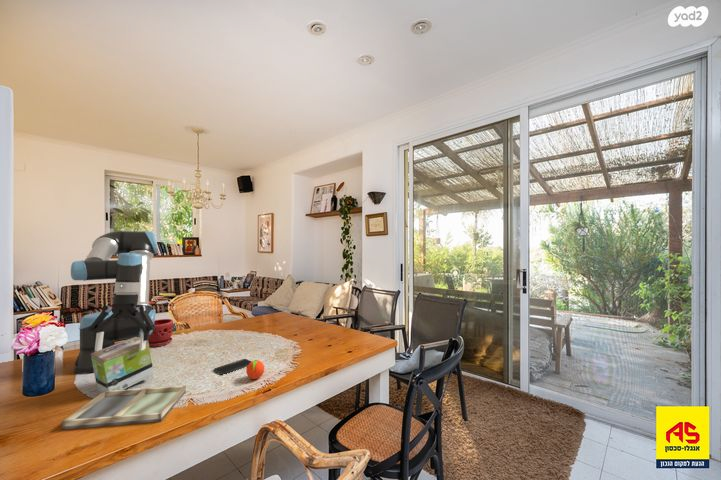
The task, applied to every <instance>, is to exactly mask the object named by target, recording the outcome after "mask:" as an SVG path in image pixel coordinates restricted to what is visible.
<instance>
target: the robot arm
mask: <svg viewBox="0 0 721 480" xmlns="http://www.w3.org/2000/svg"><path fill="white" fill-rule="evenodd" d="M157 253H158V250H157V240H156V235H155V233H154V232H152V231H145V230H143V231H139V230H138V231H129V230H128V231H126V230H115V231H112V232H111V231H110V232H107V233H105V234H102V235H100V236H99V237H97V238H95V240H94V241H93V242H92V245H91V250H90V252H89V253H88V255H87V256H86V258H85V259H84V260H75V261H72V263H71V266H70V277H71V279H72V280H73V281H84V282H85V281H96V280H97V281H98V280H99V281H100V280H115V283H114V291H113V292H114V293H115V294H114V295H113V299H112V305H113V306H111V305H105V306H103V307H102V310H101V311H97V312H93V313H89V314H86V315H84V316H83V317H81V319H80V322H79V328H78V329H79V352H78V355H77V357H76V360H75V363H74V365H73V372H74V373H76V374H90V373H91V374H92V373H94V369H93V364H92V358H91V353H94V352H96V351H99V350H102V349H104V348H107V347H110V346H112V345H115V344H116V343H115V341H121V340H128V339H131V338H134V337H138V338H140V348H139V351H141V350H144V349H145V348H146V341H147V340H148V339H149V335H150V334H151V333H152V331H153V329H155V328H156V327H155V325H154V322H155V320H156V309H153V306H152V305H151V304H149V303H150V302H149V297H150V295H149V294H150V272H151V270H150V268H151V267H150V266H151V262H150V261H151V260H152V259H153V258H154V255H157ZM114 255H118V258H117V259H111V258H112V256H114Z"/></svg>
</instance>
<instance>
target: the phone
mask: <svg viewBox="0 0 721 480" xmlns="http://www.w3.org/2000/svg"><path fill="white" fill-rule="evenodd" d="M252 361H253V360H249V359H246V358H243V359H239V360H236V361H233V362H230V363H226V364H224V365H220V366H218V367H214V368H213V372H214V373H216V372H217V373H216V374H218V373H219V374H218V375H220V374H221V375H220V376H224V375H223V374H226V375H228V374H231V373H234V372H236V370H237V371H240V370H242V368H243V369H246V368H247V366H248V365H249V363H250V362H252ZM245 367H246V368H245ZM239 369H240V370H239ZM233 371H234V372H233ZM230 372H231V373H230ZM227 373H228V374H227Z"/></svg>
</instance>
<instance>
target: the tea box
mask: <svg viewBox="0 0 721 480" xmlns="http://www.w3.org/2000/svg"><path fill="white" fill-rule="evenodd" d="M140 338H141V337H140ZM140 338H139V337H134V338H129V339H125V340H124V341H120V342H117V343H115V345H112V346H110V347H107V348H104V349H102V350H99V351H96V352H94V353H91V358H92V364H93V369H94V372H93V373H94V377H95V383H96V387H97V391H99V392H100V393H102V392H104V391H114V390H127V388H129V387H131V386H134V385H136V384H138V383H140V382H143V381H144V380H146V379H149V378H151V377H153V376H154V374H155V373H154V367H153V360H152V354H151V350H150V346H149V343H148V341H146V348H145V349H144V350H141V351H139V348H140Z"/></svg>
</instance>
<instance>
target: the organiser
mask: <svg viewBox="0 0 721 480" xmlns="http://www.w3.org/2000/svg"><path fill="white" fill-rule="evenodd" d="M186 391H187V386H186V385H178V386H177V385H175V386H162V387H148V388H147V387H146V388H131V389H123V390H114V391H104V392H100V393H99V394H98V395H97V396H96V397H94V398H92V399H91V400H90V401H89V402H87V403H86V404H84V405H83V406H81V407H80V408H79V409H77V410H76V411H75V412H73V413H72V414H71V415H68V417H66V418H65V419H64V420H62V421H61V431H62V430H72V429H73V430H74V429H85V428H86V429H87V428H97V427H99V428H100V427H110V426H122V425H136V424H146V423H147V424H148V423H158V422H159V423H161V422H162V421H163V420H164V419H165V418H166V417H167V415H168V414H169V413H170V411H172V409H173V408H174V407H175V406H176V404H177V403H178V402H179V401H180V399H182V397H183V396H184V395H185V394H186V393H187V392H186ZM185 392H186V393H185ZM184 393H185V394H184Z"/></svg>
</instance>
